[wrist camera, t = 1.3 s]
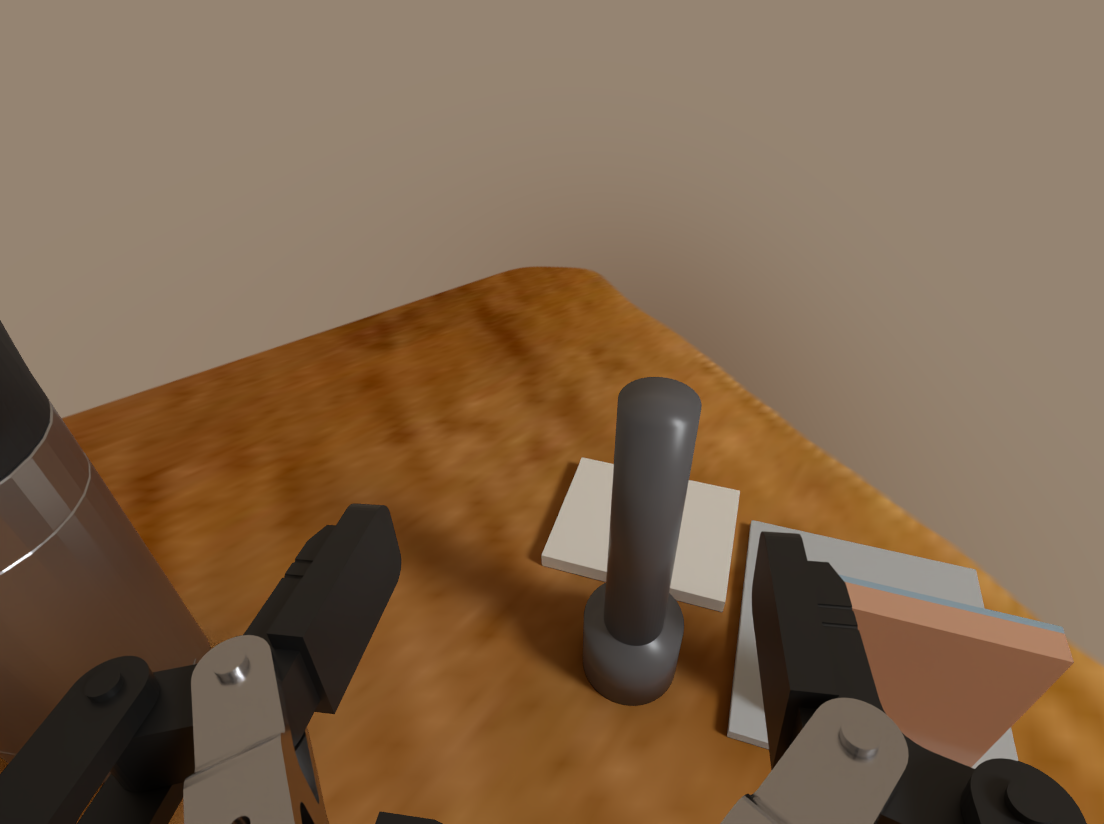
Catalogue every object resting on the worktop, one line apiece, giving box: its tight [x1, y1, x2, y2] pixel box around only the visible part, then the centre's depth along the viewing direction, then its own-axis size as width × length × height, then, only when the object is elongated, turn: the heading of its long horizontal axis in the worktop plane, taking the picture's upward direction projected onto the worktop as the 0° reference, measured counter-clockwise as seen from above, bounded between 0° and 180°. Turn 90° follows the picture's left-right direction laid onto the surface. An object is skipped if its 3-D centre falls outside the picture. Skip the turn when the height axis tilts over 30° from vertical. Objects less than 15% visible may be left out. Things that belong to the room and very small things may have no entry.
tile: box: [839, 575, 1074, 767], centre depth 28 cm, size 8×2×10 cm, turn 72°
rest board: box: [542, 458, 740, 612], centre depth 41 cm, size 11×9×1 cm
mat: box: [727, 520, 1018, 769], centre depth 35 cm, size 13×14×1 cm
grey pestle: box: [583, 377, 701, 706], centre depth 29 cm, size 5×5×18 cm
